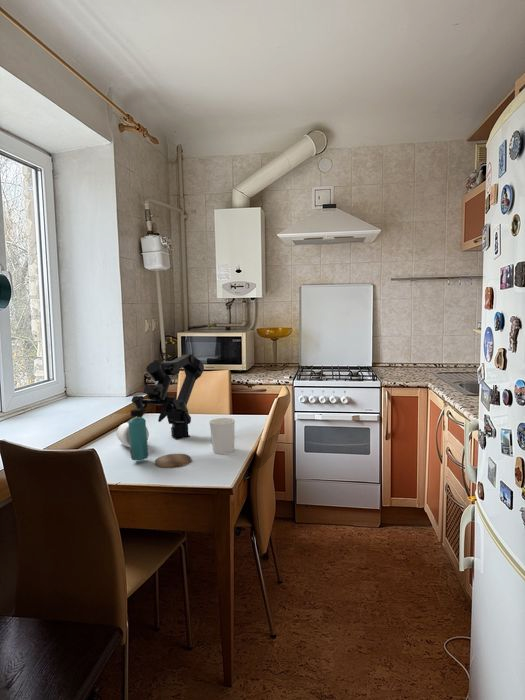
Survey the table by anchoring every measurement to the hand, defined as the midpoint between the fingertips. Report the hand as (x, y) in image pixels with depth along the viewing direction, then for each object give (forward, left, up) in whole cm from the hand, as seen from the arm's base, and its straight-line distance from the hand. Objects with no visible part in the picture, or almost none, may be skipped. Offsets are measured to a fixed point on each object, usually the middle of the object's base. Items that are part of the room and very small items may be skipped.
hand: (148, 421), depth 181 cm
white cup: (-25, +13, -14) cm, 32 cm away
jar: (+2, -25, -9) cm, 27 cm away
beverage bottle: (+6, +5, -14) cm, 16 cm away
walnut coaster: (-4, +13, -13) cm, 19 cm away
